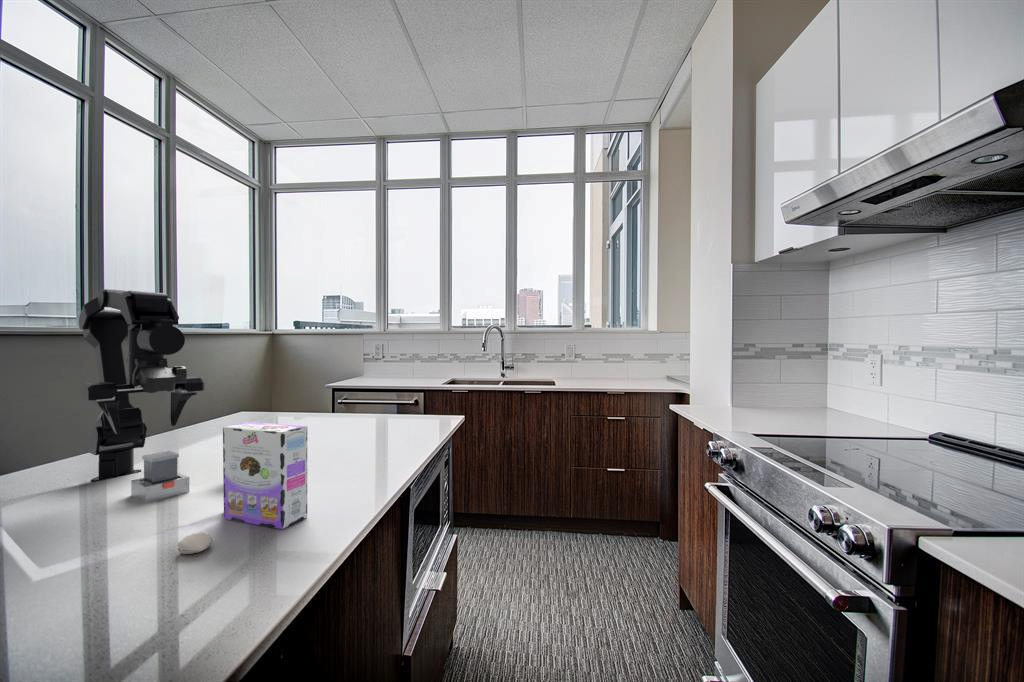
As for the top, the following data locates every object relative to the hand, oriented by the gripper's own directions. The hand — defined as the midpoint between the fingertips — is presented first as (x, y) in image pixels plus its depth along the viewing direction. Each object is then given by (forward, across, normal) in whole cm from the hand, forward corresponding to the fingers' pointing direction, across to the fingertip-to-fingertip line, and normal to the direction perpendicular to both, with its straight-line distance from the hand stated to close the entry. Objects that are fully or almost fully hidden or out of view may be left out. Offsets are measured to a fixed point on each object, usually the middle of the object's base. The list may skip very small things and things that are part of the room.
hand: (146, 429), depth 89 cm
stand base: (+13, 0, -7) cm, 15 cm away
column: (+12, 0, -7) cm, 14 cm away
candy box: (+13, +7, -33) cm, 36 cm away
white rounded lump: (+13, -5, -37) cm, 39 cm away
